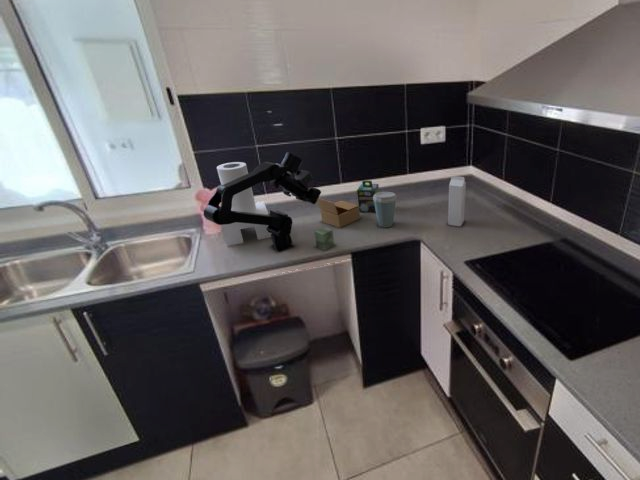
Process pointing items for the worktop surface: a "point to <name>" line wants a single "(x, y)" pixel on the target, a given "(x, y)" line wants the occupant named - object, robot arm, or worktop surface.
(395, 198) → the disposable coffee cup
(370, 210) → the chalk box
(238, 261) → the worktop surface
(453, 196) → the milk
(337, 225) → the carton
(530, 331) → the worktop surface
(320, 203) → the flap
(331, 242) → the block
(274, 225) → the robot arm
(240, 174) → the paper towel holder
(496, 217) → the worktop surface
